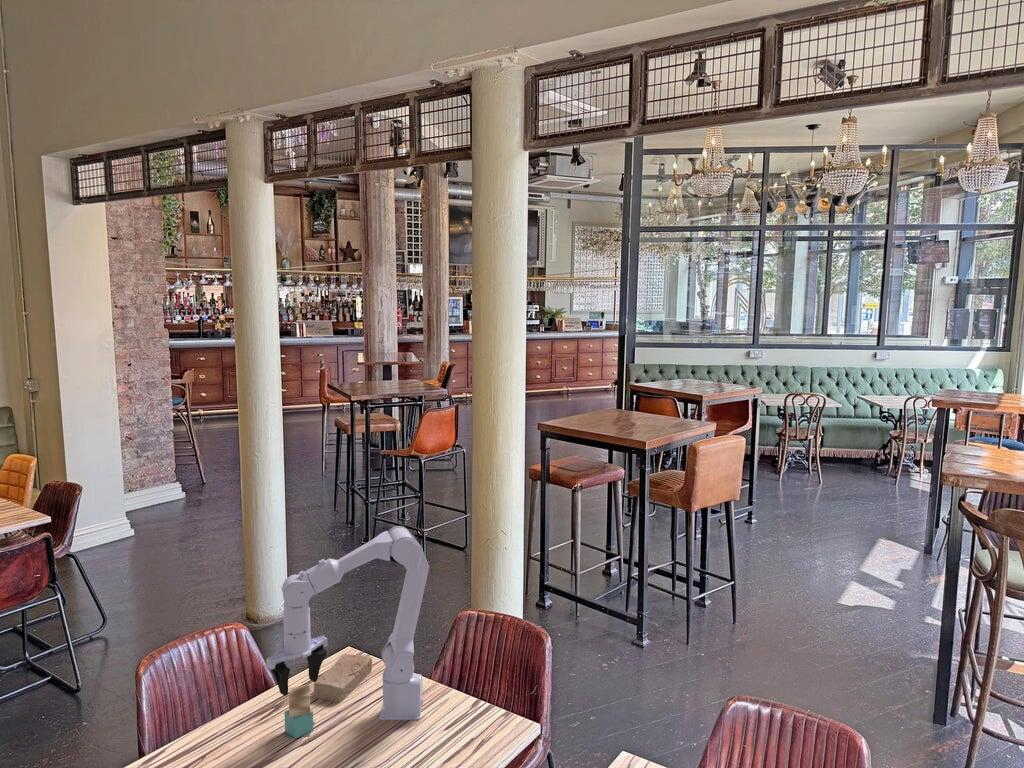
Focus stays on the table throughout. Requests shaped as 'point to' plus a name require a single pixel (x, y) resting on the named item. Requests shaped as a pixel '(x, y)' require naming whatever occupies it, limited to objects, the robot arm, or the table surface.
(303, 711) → the beech block
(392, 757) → the table surface
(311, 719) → the teal block
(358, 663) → the brick
